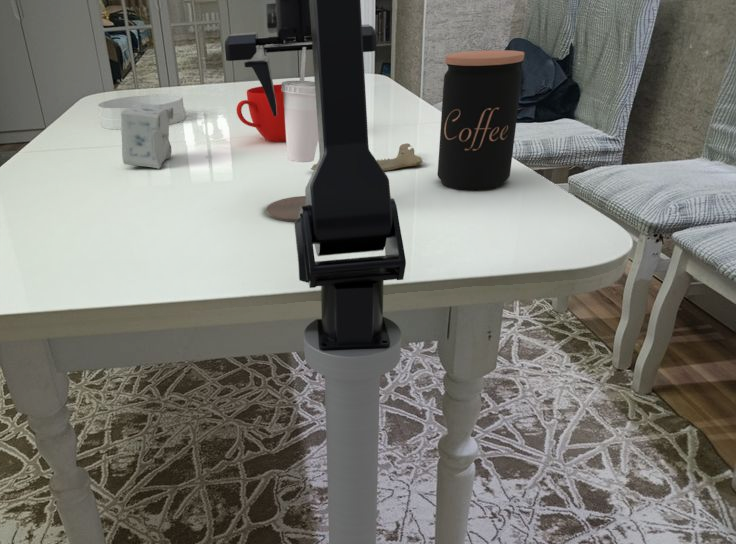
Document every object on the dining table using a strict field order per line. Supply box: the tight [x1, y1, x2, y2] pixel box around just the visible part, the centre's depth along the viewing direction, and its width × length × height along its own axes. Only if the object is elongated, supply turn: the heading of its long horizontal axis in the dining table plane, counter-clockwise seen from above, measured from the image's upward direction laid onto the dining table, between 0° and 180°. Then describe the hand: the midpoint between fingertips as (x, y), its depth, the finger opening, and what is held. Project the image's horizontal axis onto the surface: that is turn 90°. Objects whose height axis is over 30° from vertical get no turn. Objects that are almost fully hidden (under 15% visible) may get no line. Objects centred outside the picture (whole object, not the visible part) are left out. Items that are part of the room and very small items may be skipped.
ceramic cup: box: [236, 83, 286, 143], centre depth 132 cm, size 13×17×10 cm
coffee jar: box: [437, 49, 525, 191], centre depth 94 cm, size 11×11×18 cm
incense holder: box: [120, 103, 173, 170], centre depth 120 cm, size 10×8×10 cm
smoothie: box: [281, 47, 319, 163], centre depth 84 cm, size 6×6×14 cm
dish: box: [97, 93, 187, 131], centre depth 165 cm, size 22×22×5 cm
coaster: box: [266, 195, 306, 223], centre depth 91 cm, size 11×11×1 cm
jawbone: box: [310, 143, 423, 172], centre depth 109 cm, size 9×20×2 cm, turn 115°
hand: (302, 114), depth 85 cm, fingers closed on smoothie, 7 cm apart
